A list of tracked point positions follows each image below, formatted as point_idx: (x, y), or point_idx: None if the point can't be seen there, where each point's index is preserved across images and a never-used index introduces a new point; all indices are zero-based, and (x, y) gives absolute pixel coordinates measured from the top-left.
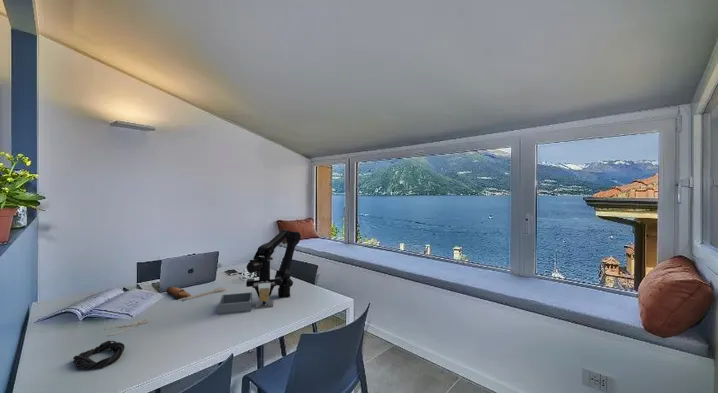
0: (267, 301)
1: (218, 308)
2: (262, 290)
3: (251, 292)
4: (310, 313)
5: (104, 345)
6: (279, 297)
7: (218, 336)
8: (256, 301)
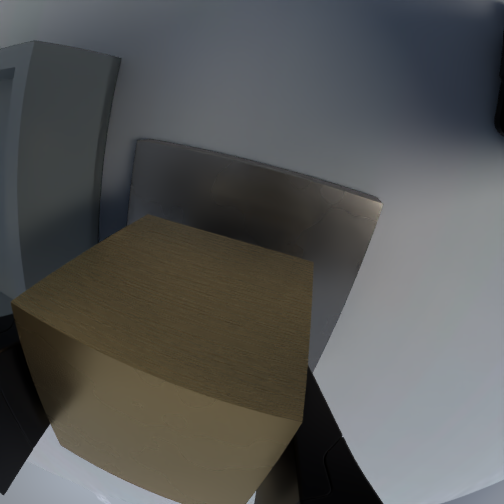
0: (283, 248)
1: None
2: (102, 459)
3: (26, 46)
4: (432, 501)
5: None
6: (497, 129)
7: (48, 444)
8: (139, 165)
